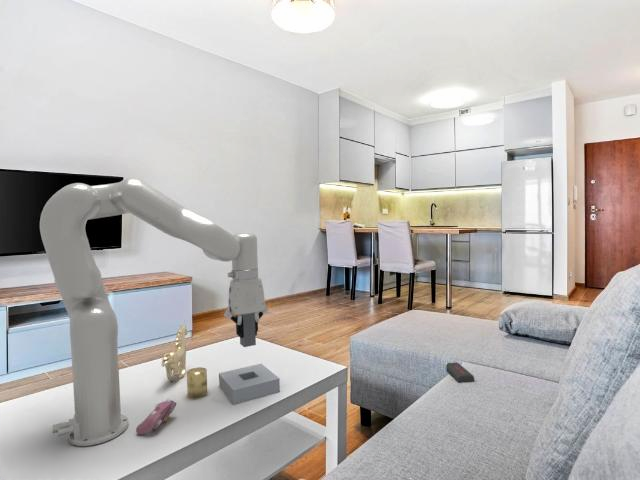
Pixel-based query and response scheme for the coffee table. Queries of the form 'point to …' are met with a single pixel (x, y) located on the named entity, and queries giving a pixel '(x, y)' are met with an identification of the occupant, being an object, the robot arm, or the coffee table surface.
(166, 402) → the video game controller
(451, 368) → the usb drive
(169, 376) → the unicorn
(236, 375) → the socket block
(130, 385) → the coffee table surface
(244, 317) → the square bit
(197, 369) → the round bit
